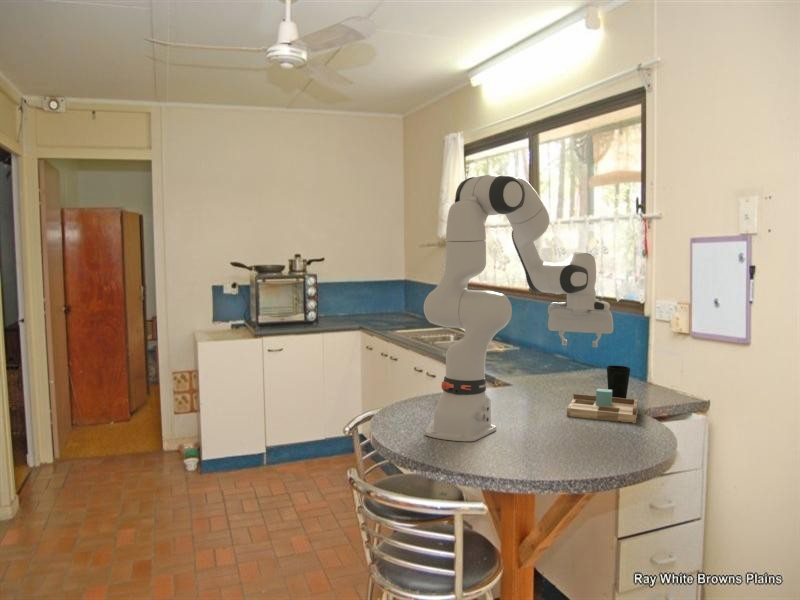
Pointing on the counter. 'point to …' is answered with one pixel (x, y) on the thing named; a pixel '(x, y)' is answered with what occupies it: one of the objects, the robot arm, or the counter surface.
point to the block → (604, 397)
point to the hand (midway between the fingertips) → (579, 346)
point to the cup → (618, 380)
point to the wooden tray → (603, 408)
